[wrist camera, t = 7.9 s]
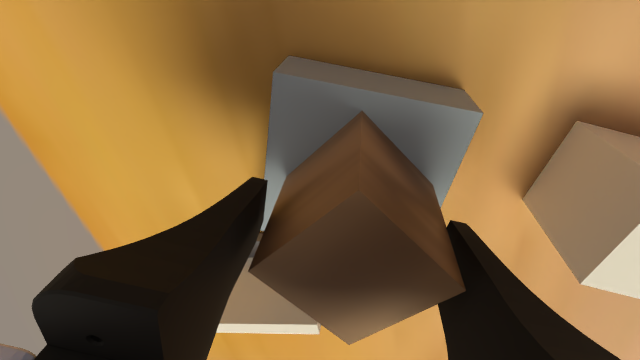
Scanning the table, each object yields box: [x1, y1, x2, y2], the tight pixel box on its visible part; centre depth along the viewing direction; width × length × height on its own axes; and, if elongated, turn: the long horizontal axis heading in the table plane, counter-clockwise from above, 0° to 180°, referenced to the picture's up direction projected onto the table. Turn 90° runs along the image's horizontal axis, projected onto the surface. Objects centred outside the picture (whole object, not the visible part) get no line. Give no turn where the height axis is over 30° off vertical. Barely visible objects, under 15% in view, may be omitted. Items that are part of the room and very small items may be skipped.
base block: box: [260, 56, 483, 231], centre depth 17 cm, size 8×8×4 cm
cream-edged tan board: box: [216, 233, 321, 334], centre depth 20 cm, size 7×4×6 cm, turn 99°
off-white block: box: [522, 121, 640, 299], centre depth 15 cm, size 5×5×6 cm
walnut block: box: [248, 111, 466, 345], centre depth 13 cm, size 5×5×6 cm
